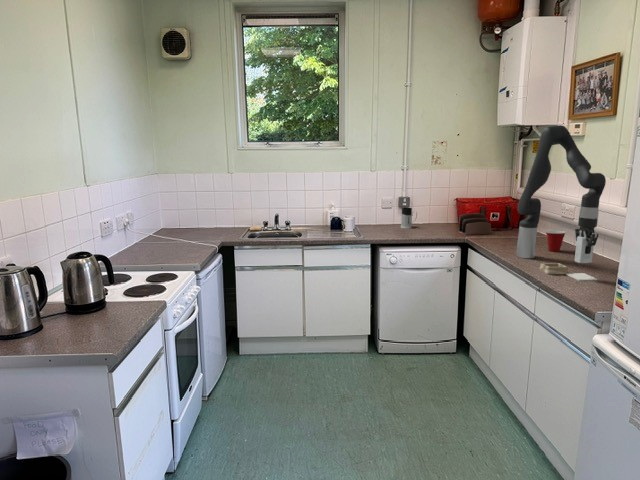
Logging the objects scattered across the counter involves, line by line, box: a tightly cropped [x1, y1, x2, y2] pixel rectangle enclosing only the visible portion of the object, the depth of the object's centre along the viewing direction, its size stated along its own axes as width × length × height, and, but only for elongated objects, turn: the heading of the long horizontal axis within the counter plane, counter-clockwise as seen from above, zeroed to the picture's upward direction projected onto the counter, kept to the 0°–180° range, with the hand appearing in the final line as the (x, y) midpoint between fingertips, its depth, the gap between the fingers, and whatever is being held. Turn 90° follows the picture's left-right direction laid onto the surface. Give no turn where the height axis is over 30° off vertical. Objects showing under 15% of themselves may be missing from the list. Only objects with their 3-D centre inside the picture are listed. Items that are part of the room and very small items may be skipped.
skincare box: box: [574, 236, 595, 264], centre depth 207 cm, size 6×4×12 cm
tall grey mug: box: [400, 207, 418, 229], centre depth 339 cm, size 9×14×15 cm, turn 40°
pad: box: [565, 272, 598, 282], centre depth 210 cm, size 10×9×1 cm
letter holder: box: [458, 212, 492, 236], centre depth 317 cm, size 10×20×14 cm, turn 102°
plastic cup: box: [545, 230, 567, 253], centre depth 262 cm, size 11×11×12 cm
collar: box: [539, 262, 569, 275], centre depth 219 cm, size 8×10×4 cm
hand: (584, 252), depth 207 cm, fingers closed on skincare box, 4 cm apart
